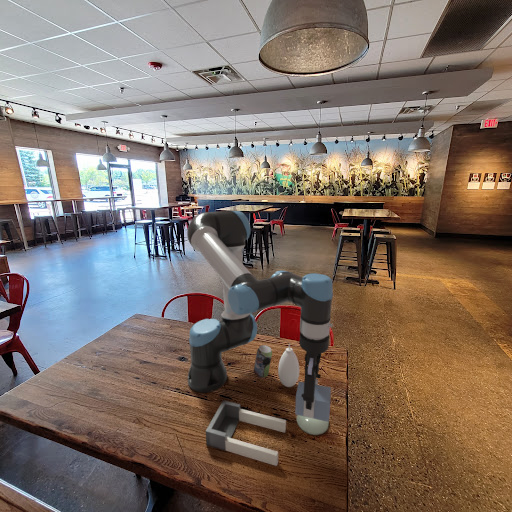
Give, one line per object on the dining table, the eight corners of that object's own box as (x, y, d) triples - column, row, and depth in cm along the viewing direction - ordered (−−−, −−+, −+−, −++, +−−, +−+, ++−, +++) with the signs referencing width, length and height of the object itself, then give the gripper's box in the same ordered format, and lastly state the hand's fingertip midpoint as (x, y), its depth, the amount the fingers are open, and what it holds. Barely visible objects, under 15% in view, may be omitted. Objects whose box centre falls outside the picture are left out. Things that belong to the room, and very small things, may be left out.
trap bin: (206, 445, 78) (205, 431, 77) (223, 412, 89) (223, 400, 88) (225, 450, 76) (224, 436, 75) (240, 417, 87) (240, 404, 86)
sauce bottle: (301, 381, 104) (302, 339, 99) (295, 395, 97) (296, 350, 93) (282, 375, 107) (282, 335, 103) (275, 388, 100) (275, 345, 96)
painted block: (295, 414, 74) (295, 396, 73) (298, 398, 80) (298, 381, 78) (328, 421, 72) (330, 403, 70) (329, 405, 77) (330, 387, 76)
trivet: (294, 430, 83) (294, 428, 82) (299, 406, 92) (299, 404, 92) (327, 438, 80) (327, 436, 79) (329, 412, 89) (329, 410, 89)
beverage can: (253, 369, 111) (252, 343, 108) (270, 368, 111) (271, 342, 108) (254, 380, 105) (254, 353, 102) (273, 379, 105) (273, 352, 102)
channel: (225, 450, 76) (225, 440, 75) (240, 417, 87) (240, 408, 86) (276, 466, 72) (277, 455, 71) (285, 429, 83) (286, 420, 82)
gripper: (326, 356, 60) (320, 439, 66) (331, 318, 78) (326, 386, 83) (292, 350, 62) (290, 430, 68) (305, 315, 80) (302, 381, 86)
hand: (310, 406), depth 76 cm, fingers closed on painted block, 6 cm apart
